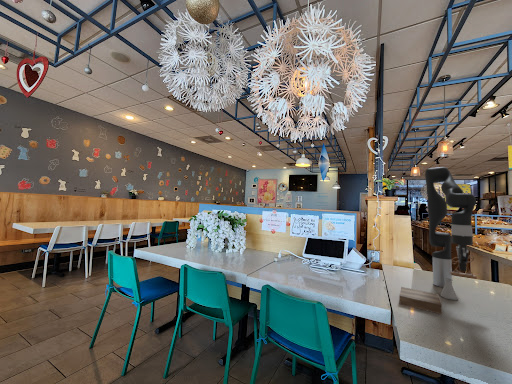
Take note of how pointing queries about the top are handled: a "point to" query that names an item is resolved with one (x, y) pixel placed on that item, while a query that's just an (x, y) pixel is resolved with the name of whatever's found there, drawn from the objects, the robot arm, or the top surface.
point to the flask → (448, 290)
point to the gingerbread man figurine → (460, 270)
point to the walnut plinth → (420, 300)
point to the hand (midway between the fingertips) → (462, 270)
